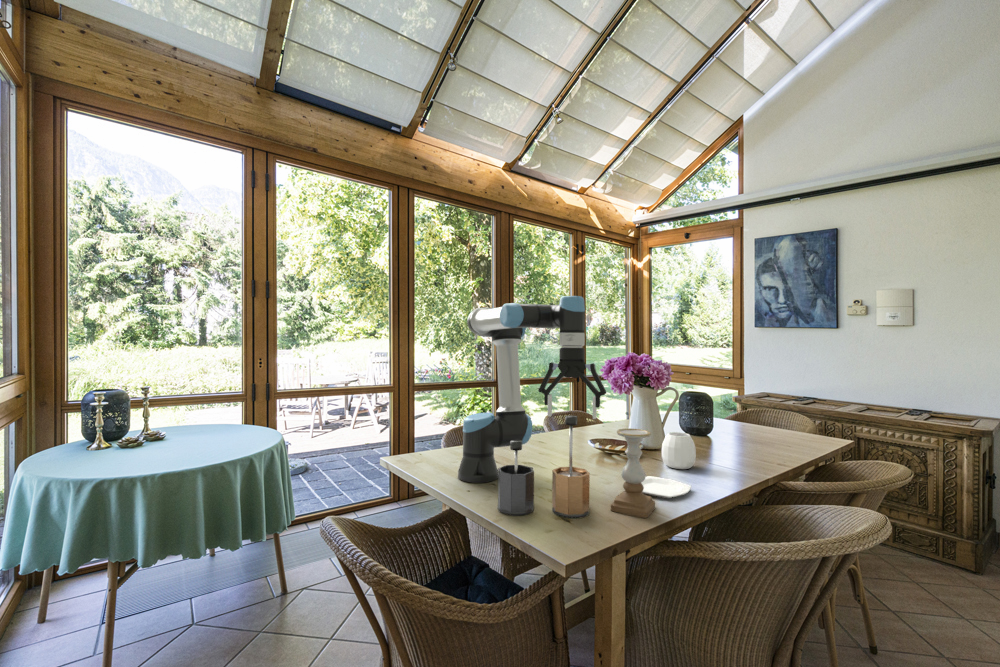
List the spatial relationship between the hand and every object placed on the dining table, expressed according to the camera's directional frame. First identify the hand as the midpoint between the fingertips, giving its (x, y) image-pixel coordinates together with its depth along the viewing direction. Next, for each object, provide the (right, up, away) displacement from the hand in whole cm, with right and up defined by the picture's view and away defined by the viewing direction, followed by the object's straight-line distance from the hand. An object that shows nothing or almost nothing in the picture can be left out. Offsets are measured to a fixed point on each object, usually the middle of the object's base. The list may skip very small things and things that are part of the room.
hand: (571, 417), depth 140 cm
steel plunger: (-17, -26, +2) cm, 31 cm away
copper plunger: (0, -18, 0) cm, 18 cm away
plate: (+34, -30, +20) cm, 49 cm away
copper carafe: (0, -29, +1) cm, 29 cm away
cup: (+51, -30, +50) cm, 77 cm away
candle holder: (+19, -29, +2) cm, 35 cm away
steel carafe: (-16, -28, +3) cm, 33 cm away
